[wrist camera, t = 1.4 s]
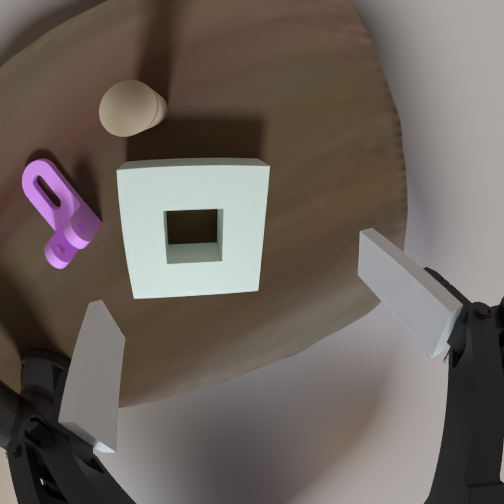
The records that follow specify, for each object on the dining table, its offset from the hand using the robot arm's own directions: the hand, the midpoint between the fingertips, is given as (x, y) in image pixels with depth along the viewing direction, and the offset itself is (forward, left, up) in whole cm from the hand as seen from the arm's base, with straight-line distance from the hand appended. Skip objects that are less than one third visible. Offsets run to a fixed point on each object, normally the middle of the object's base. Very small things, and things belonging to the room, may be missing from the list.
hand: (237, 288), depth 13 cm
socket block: (-1, -6, -23) cm, 23 cm away
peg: (-6, +8, -23) cm, 25 cm away
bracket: (-19, -2, -23) cm, 30 cm away
